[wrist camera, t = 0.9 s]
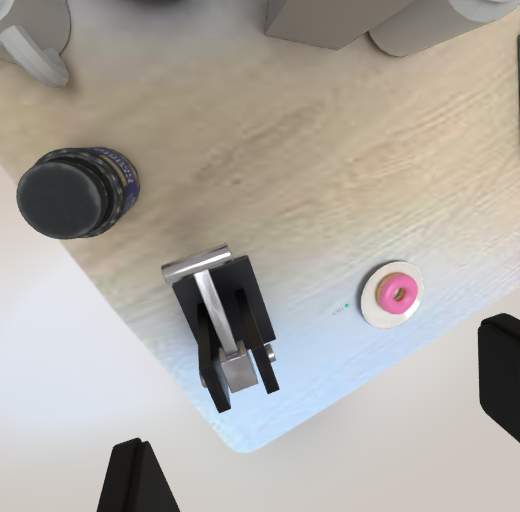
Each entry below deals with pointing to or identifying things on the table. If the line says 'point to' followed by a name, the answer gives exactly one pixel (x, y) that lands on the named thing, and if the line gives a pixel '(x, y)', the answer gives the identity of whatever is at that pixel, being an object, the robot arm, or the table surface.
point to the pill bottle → (77, 192)
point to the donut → (392, 295)
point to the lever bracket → (241, 321)
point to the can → (435, 23)
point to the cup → (36, 37)
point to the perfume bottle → (327, 19)
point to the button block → (519, 58)
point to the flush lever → (216, 312)
